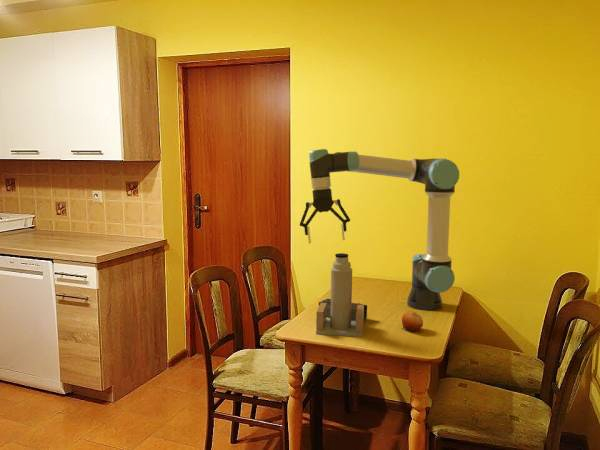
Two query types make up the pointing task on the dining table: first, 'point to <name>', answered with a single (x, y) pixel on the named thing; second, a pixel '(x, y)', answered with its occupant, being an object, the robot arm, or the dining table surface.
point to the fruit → (412, 321)
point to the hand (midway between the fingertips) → (326, 241)
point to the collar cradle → (325, 328)
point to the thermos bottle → (341, 292)
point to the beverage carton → (353, 309)
